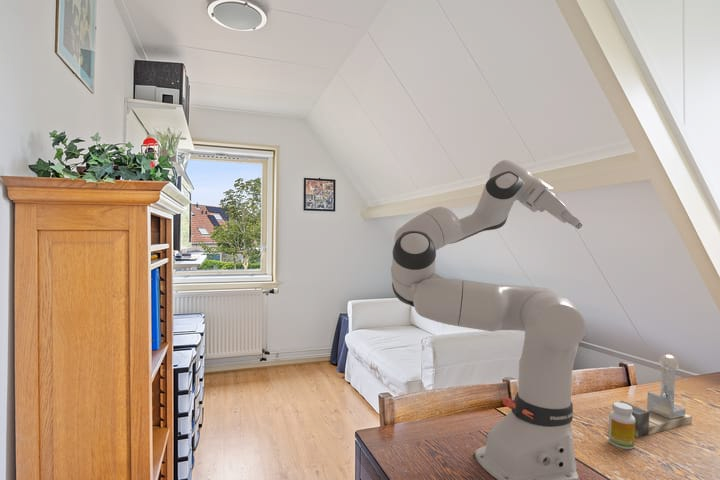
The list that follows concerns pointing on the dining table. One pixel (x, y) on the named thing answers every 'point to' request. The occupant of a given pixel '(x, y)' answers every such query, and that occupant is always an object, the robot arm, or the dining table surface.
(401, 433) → the dining table surface
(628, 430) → the supplement bottle
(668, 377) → the press slide
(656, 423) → the press base
